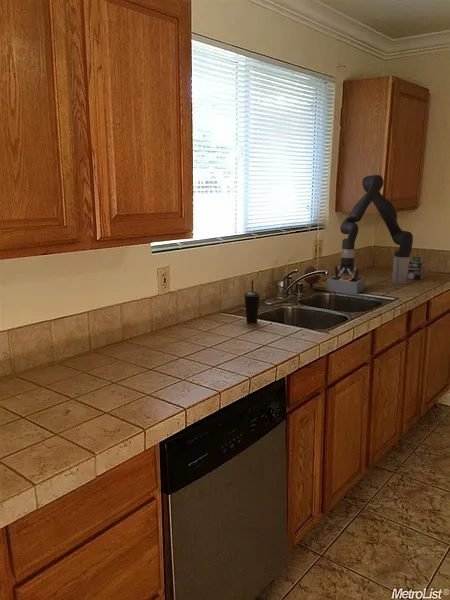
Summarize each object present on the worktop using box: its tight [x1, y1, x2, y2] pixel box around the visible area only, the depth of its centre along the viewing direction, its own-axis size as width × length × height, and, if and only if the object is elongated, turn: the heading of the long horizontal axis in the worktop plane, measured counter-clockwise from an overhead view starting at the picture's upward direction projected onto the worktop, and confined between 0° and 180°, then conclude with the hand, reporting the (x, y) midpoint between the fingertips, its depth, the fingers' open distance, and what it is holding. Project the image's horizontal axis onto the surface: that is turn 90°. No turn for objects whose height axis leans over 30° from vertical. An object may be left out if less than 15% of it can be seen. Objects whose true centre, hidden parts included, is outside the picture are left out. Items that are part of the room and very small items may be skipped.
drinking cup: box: [243, 280, 261, 324], centre depth 236 cm, size 8×8×20 cm
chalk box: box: [408, 256, 425, 281], centre depth 340 cm, size 9×9×15 cm
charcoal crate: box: [326, 274, 366, 295], centre depth 306 cm, size 16×18×7 cm
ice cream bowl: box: [301, 265, 322, 293], centre depth 303 cm, size 11×11×15 cm
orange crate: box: [339, 277, 352, 282], centre depth 306 cm, size 10×6×6 cm, turn 149°
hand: (346, 283), depth 306 cm, fingers open, 7 cm apart
